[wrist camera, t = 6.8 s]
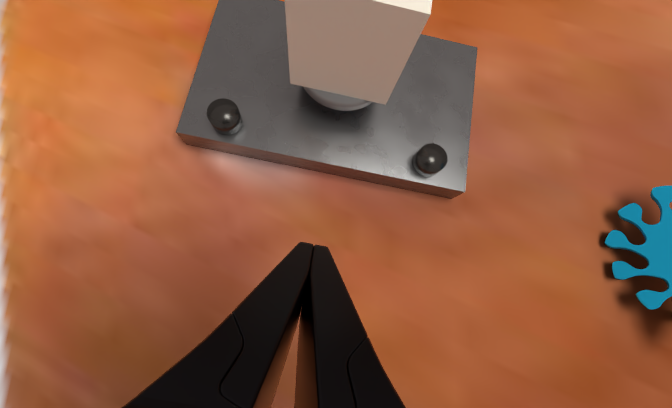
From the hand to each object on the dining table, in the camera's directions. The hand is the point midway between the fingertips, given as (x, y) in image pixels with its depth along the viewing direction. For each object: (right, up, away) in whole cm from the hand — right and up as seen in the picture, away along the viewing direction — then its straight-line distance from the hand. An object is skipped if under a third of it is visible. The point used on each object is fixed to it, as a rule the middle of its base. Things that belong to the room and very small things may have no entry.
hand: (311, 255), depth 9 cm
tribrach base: (+1, +10, +15) cm, 18 cm away
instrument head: (+2, +12, +12) cm, 17 cm away
